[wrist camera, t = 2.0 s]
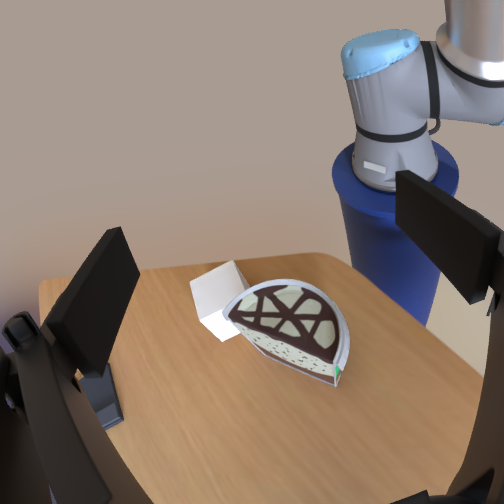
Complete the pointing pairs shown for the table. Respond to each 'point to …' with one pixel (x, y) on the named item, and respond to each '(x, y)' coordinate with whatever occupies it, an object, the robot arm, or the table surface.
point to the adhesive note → (218, 297)
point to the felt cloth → (103, 398)
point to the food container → (293, 326)
